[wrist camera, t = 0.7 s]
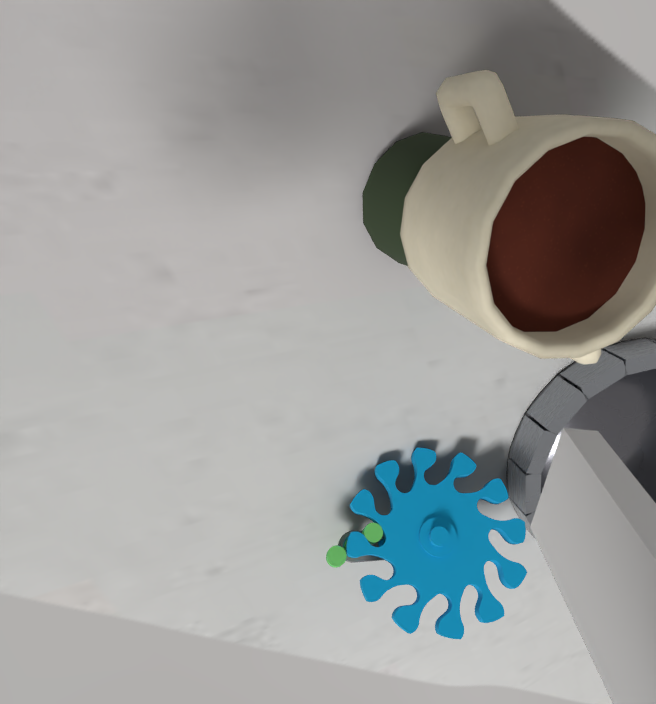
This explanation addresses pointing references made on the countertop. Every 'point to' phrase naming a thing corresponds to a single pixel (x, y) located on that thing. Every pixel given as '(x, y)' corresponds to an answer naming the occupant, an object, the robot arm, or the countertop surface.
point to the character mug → (524, 219)
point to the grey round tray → (589, 420)
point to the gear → (432, 543)
